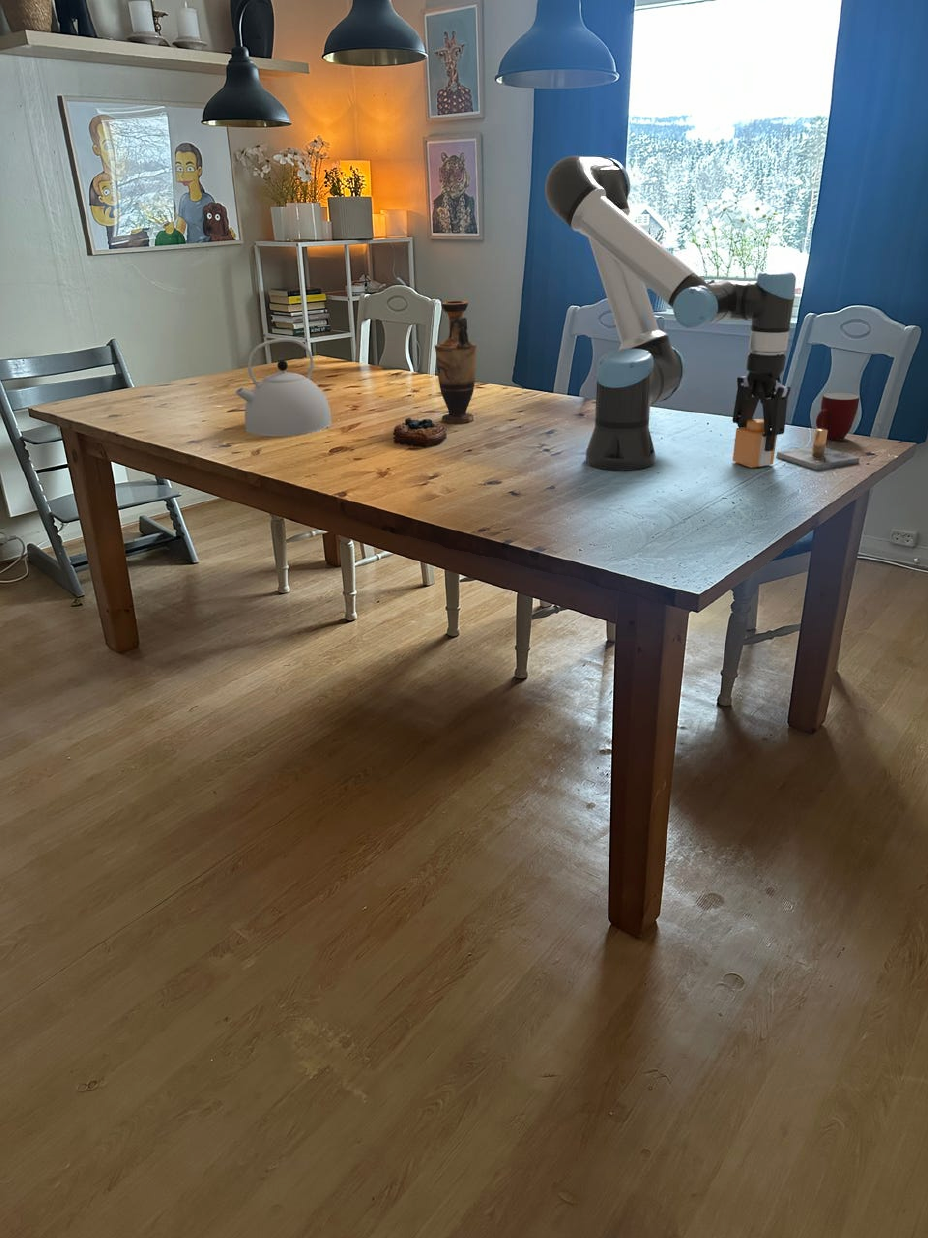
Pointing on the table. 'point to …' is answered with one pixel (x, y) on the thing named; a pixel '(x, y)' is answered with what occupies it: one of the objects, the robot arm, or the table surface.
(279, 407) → the kettle
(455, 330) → the vase
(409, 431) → the pastry
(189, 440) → the table surface
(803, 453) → the plate
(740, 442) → the orange block
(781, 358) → the robot arm
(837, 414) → the mug
